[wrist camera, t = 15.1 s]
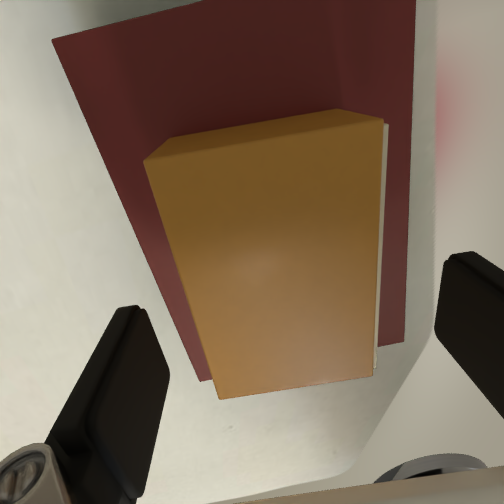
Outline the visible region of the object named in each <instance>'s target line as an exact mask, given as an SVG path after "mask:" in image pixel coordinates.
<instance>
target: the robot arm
mask: <svg viewBox="0 0 504 504" xmlns="http://www.w3.org/2000/svg"><path fill="white" fill-rule="evenodd" d="M434 330H435V334H436V336H437V338H438V340H439V341H440V342H441V343H442V344H443V345H444V347H445V348H446V349H447V351H448V352H449V353H450V354H451V355H452V357H453V358H454V359H455V360H456V362H457V363H458V364H459V365H460V366H461V368H462V369H463V370H464V371H465V372H466V374H467V375H468V376H469V377H470V378H471V380H472V381H473V382H474V383H475V385H476V386H477V387H478V388H479V389H480V391H481V392H482V393H483V394H484V396H485V397H486V398H487V399H488V400H489V402H490V403H491V404H492V405H493V407H494V408H495V409H496V410H497V411H498V413H499V414H500V415H501V416H502V417H503V419H504V271H503V270H502V269H500V268H498V267H497V266H496V265H494V264H493V263H491V262H489V261H488V260H486V259H485V258H483V257H482V256H480V255H479V254H477V253H475V252H474V251H469V252H463V253H457V254H452V255H450V257H449V258H448V260H446V261H445V262H444V265H443V271H442V277H441V284H440V291H439V298H438V305H437V312H436V318H435V325H434ZM169 380H170V371H169V367H168V365H167V362H166V360H165V357H164V354H163V352H162V349H161V347H160V344H159V342H158V339H157V337H156V334H155V332H154V329H153V327H152V324H151V322H150V319H149V317H148V314H147V312H146V310H145V309H140V307H139V306H138V305H132V306H126V307H120V308H118V309H117V310H116V311H115V313H114V315H113V317H112V319H111V321H110V322H109V324H108V326H107V328H106V330H105V332H104V333H103V335H102V337H101V339H100V341H99V343H98V344H97V346H96V348H95V350H94V352H93V354H92V355H91V357H90V359H89V361H88V363H87V365H86V366H85V368H84V370H83V372H82V374H81V376H80V378H79V379H78V381H77V383H76V385H75V387H74V389H73V390H72V392H71V394H70V396H69V398H68V400H67V401H66V403H65V405H64V407H63V409H62V411H61V412H60V414H59V416H58V418H57V420H56V422H55V423H54V425H53V427H52V429H51V431H50V433H49V435H48V437H47V439H46V441H45V442H44V443H33V444H30V445H27V446H24V447H22V448H20V449H18V450H16V451H15V452H13V453H11V454H10V455H9V456H7V457H6V458H5V459H3V460H2V461H1V462H0V504H136V501H137V498H139V497H141V496H142V495H143V493H144V490H145V486H146V482H147V477H148V473H149V468H150V464H151V460H152V455H153V451H154V446H155V442H156V438H157V433H158V429H159V424H160V420H161V416H162V411H163V407H164V402H165V398H166V394H167V389H168V385H169ZM235 504H504V466H498V467H491V468H484V469H476V470H469V471H461V472H454V473H446V474H439V475H432V476H425V477H417V478H410V479H403V480H396V481H389V482H382V483H374V484H368V485H360V486H353V487H346V488H339V489H332V490H325V491H318V492H311V493H303V494H296V495H290V496H283V497H276V498H269V499H262V500H255V501H248V502H242V503H235Z"/></svg>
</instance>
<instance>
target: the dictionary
mask: <svg viewBox="0 0 504 504" xmlns="http://www.w3.org/2000/svg"><path fill="white" fill-rule="evenodd" d="M388 128H389V125H388V124H386V123H384V120H383V119H382V118H378V117H373V116H369V115H364V114H360V113H355V112H351V111H346V110H342V109H331V110H325V111H320V112H314V113H308V114H303V115H297V116H291V117H285V118H280V119H274V120H268V121H263V122H257V123H251V124H246V125H240V126H234V127H228V128H223V129H217V130H211V131H206V132H200V133H194V134H189V135H183V136H177V137H171V138H169V139H168V140H167V141H166V142H164V143H163V144H162V145H161V146H160V147H159V148H157V149H156V150H155V151H154V152H153V153H152V154H150V155H149V156H148V157H147V158H146V159H145V160H144V161H143V163H144V167H145V170H146V173H147V176H148V179H149V182H150V185H151V188H152V192H153V195H154V198H155V201H156V204H157V207H158V210H159V213H160V217H161V220H162V223H163V226H164V229H165V232H166V235H167V238H168V242H169V245H170V248H171V251H172V254H173V257H174V260H175V263H176V267H177V270H178V273H179V276H180V279H181V282H182V285H183V288H184V292H185V295H186V298H187V301H188V304H189V307H190V310H191V313H192V317H193V320H194V323H195V326H196V329H197V332H198V335H199V338H200V342H201V345H202V348H203V351H204V354H205V357H206V360H207V363H208V367H209V370H210V373H211V376H212V379H213V382H214V385H215V388H216V392H217V395H218V398H219V399H220V400H222V399H229V398H235V397H242V396H248V395H254V394H261V393H267V392H274V391H280V390H286V389H293V388H299V387H306V386H312V385H318V384H325V383H331V382H338V381H344V380H351V379H357V378H363V377H370V376H372V375H373V369H376V362H377V342H378V323H379V303H380V284H381V264H382V245H383V225H384V206H385V186H386V167H387V147H388Z"/></svg>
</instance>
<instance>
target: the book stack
mask: <svg viewBox="0 0 504 504" xmlns="http://www.w3.org/2000/svg"><path fill="white" fill-rule="evenodd" d="M415 16H416V0H203V1H199V2H195V3H191V4H187V5H183V6H179V7H175V8H171V9H168V10H164V11H160V12H156V13H152V14H148V15H144V16H140V17H136V18H132V19H128V20H125V21H121V22H117V23H113V24H109V25H105V26H101V27H97V28H93V29H89V30H85V31H82V32H78V33H74V34H70V35H66V36H62V37H58V38H54V39H52V40H51V41H52V44H53V46H54V48H55V50H56V53H57V55H58V57H59V60H60V62H61V64H62V67H63V69H64V71H65V73H66V76H67V78H68V80H69V83H70V85H71V87H72V90H73V92H74V94H75V96H76V99H77V101H78V103H79V106H80V108H81V110H82V113H83V115H84V117H85V119H86V122H87V124H88V126H89V129H90V131H91V133H92V135H93V138H94V140H95V142H96V145H97V147H98V149H99V152H100V154H101V156H102V158H103V161H104V163H105V165H106V168H107V170H108V172H109V175H110V177H111V179H112V181H113V184H114V186H115V188H116V191H117V193H118V195H119V198H120V200H121V202H122V204H123V207H124V209H125V211H126V214H127V216H128V218H129V221H130V223H131V225H132V227H133V230H134V232H135V234H136V237H137V239H138V241H139V244H140V246H141V248H142V250H143V253H144V255H145V257H146V260H147V262H148V264H149V267H150V269H151V271H152V273H153V276H154V278H155V280H156V283H157V285H158V287H159V290H160V292H161V294H162V296H163V299H164V301H165V303H166V306H167V308H168V310H169V313H170V315H171V317H172V319H173V322H174V324H175V326H176V329H177V331H178V333H179V336H180V338H181V340H182V342H183V345H184V347H185V349H186V352H187V354H188V356H189V359H190V361H191V363H192V365H193V368H194V370H195V372H196V375H197V377H198V379H199V381H200V382H201V381H206V380H211V379H212V376H211V373H210V370H209V367H208V363H207V360H206V357H205V354H204V351H203V348H202V345H201V342H200V338H199V335H198V332H197V329H196V326H195V323H194V320H193V317H192V313H191V310H190V307H189V304H188V301H187V298H186V295H185V292H184V288H183V285H182V282H181V279H180V276H179V273H178V270H177V267H176V263H175V260H174V257H173V254H172V251H171V248H170V245H169V242H168V238H167V235H166V232H165V229H164V226H163V223H162V220H161V217H160V213H159V210H158V207H157V204H156V201H155V198H154V195H153V192H152V188H151V185H150V182H149V179H148V176H147V173H146V170H145V167H144V163H143V161H144V160H145V159H146V158H147V157H148V156H149V155H150V154H152V153H153V152H154V151H155V150H156V149H157V148H159V147H160V146H161V145H162V144H163V143H164V142H166V141H167V140H168V139H169V138H171V137H177V136H183V135H189V134H194V133H200V132H206V131H211V130H217V129H223V128H228V127H234V126H240V125H246V124H251V123H257V122H263V121H268V120H274V119H280V118H285V117H291V116H297V115H303V114H308V113H314V112H320V111H325V110H331V109H342V110H346V111H351V112H355V113H360V114H364V115H369V116H373V117H378V118H382V119H383V120H384V123H386V124H388V125H389V128H388V147H387V167H386V186H385V206H384V225H383V245H382V264H381V284H380V303H379V323H378V342H377V347H380V346H385V345H390V344H395V343H400V342H404V332H405V303H406V275H407V246H408V217H409V188H410V159H411V131H412V102H413V73H414V44H415Z"/></svg>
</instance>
